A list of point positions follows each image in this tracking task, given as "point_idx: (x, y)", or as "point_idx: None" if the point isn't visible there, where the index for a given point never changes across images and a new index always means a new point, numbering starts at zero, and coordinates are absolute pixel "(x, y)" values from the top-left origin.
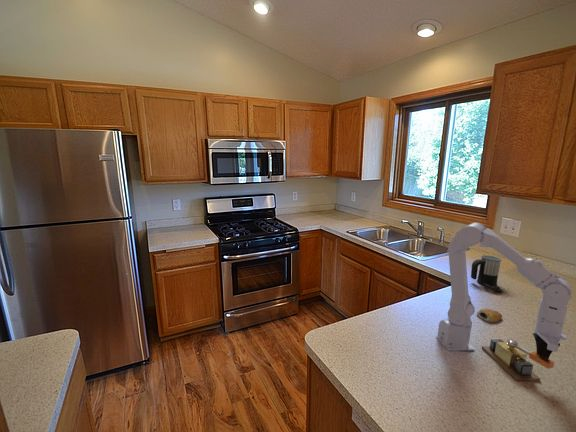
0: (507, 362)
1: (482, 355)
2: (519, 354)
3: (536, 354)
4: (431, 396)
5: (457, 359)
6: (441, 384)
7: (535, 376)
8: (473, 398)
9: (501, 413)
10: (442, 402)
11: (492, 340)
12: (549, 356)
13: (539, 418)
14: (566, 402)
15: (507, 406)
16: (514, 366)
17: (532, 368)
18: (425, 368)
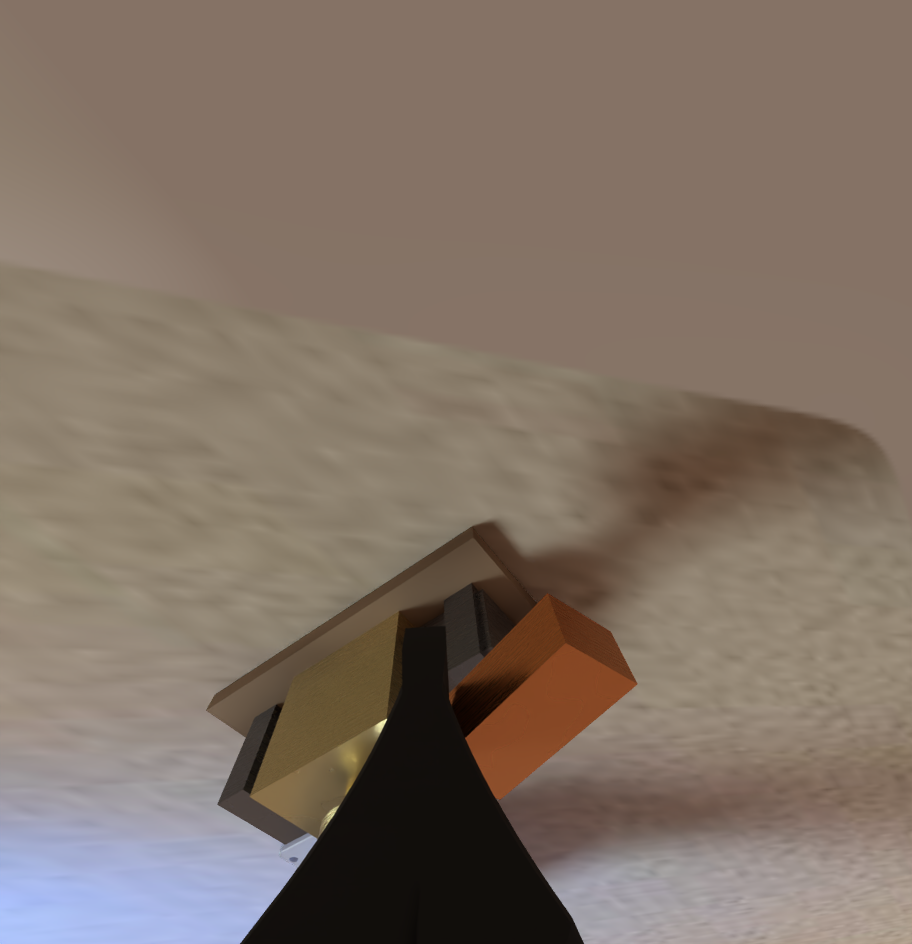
0: None
1: None
2: None
3: (489, 760)
4: (849, 854)
5: (530, 828)
6: (762, 844)
7: (469, 562)
8: (808, 765)
9: (872, 688)
10: (872, 830)
11: (295, 837)
12: (443, 671)
13: (856, 561)
14: (637, 409)
15: (813, 670)
16: None
17: (489, 632)
18: (680, 888)
